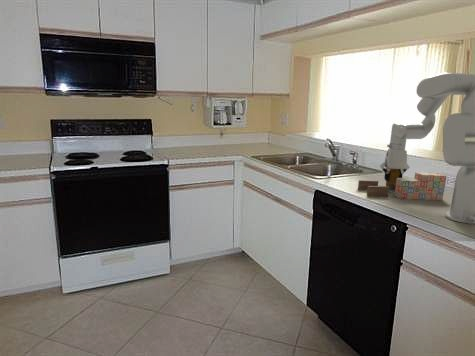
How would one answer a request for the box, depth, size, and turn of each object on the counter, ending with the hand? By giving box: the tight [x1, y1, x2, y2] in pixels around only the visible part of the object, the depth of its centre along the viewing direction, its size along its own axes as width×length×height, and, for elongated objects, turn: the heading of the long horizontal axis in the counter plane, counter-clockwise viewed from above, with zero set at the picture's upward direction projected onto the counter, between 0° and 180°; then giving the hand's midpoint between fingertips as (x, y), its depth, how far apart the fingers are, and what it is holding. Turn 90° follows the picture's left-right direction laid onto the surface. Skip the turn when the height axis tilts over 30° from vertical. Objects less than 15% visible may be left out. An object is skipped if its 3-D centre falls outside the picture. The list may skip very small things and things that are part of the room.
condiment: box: [384, 169, 400, 188], centre depth 188 cm, size 7×8×12 cm
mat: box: [388, 187, 395, 193], centre depth 189 cm, size 12×12×1 cm
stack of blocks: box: [394, 172, 447, 201], centre depth 174 cm, size 21×6×12 cm, turn 93°
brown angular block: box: [357, 179, 389, 198], centre depth 180 cm, size 13×10×5 cm
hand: (392, 180), depth 188 cm, fingers closed on condiment, 6 cm apart
